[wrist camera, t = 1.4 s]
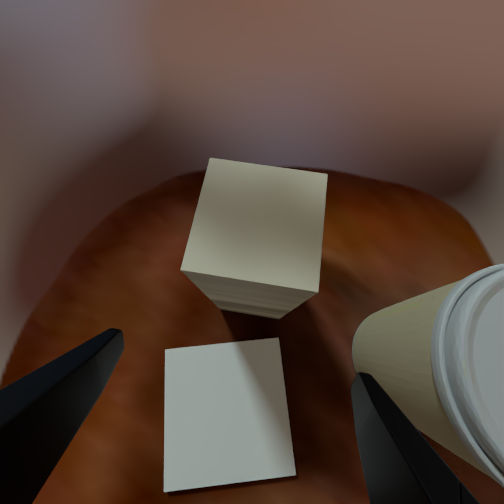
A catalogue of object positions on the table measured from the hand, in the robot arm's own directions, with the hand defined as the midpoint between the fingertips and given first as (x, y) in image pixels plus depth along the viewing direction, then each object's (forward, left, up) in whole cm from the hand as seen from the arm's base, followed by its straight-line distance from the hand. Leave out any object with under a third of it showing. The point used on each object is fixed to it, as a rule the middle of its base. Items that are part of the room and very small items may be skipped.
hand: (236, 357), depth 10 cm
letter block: (+5, -1, -12) cm, 13 cm away
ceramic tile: (-4, +2, -12) cm, 12 cm away
